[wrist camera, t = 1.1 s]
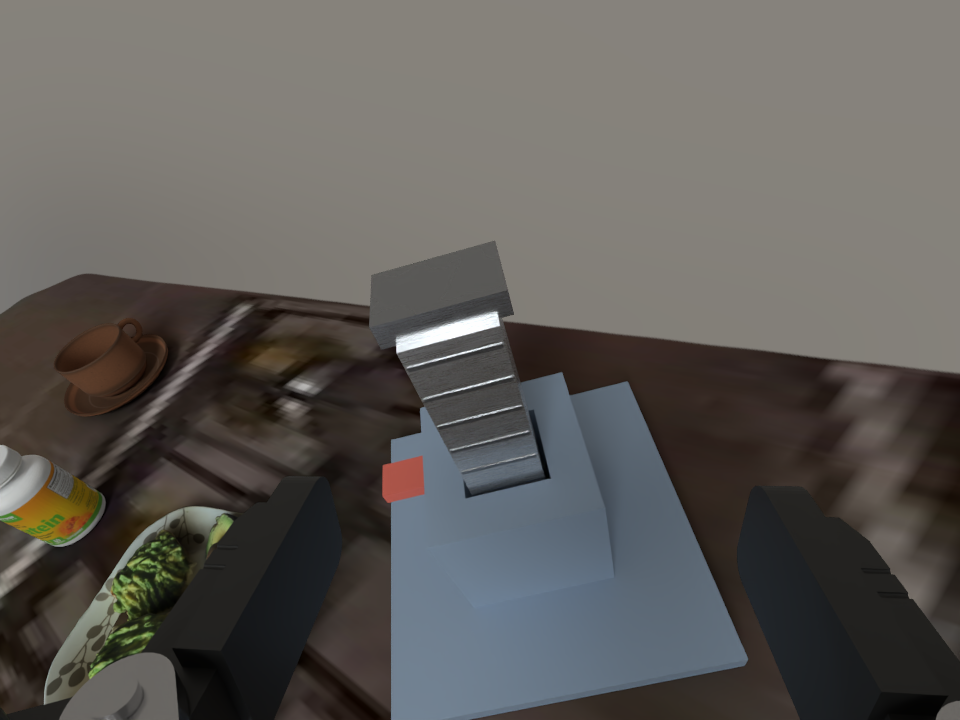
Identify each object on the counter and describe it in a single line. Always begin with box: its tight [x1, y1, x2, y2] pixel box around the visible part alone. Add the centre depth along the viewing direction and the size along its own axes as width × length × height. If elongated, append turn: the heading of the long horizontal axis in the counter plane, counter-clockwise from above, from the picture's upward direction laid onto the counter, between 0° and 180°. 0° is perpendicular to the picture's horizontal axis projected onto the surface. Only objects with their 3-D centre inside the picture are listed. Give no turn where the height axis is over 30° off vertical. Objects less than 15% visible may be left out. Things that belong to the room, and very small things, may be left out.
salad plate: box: [44, 505, 243, 705], centre depth 36 cm, size 19×18×5 cm
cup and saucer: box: [54, 318, 168, 416], centre depth 58 cm, size 12×12×6 cm
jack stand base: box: [383, 372, 748, 720], centre depth 32 cm, size 20×20×11 cm
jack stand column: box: [369, 241, 548, 497], centre depth 27 cm, size 5×4×21 cm
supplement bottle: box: [0, 445, 106, 547], centre depth 44 cm, size 5×5×10 cm
